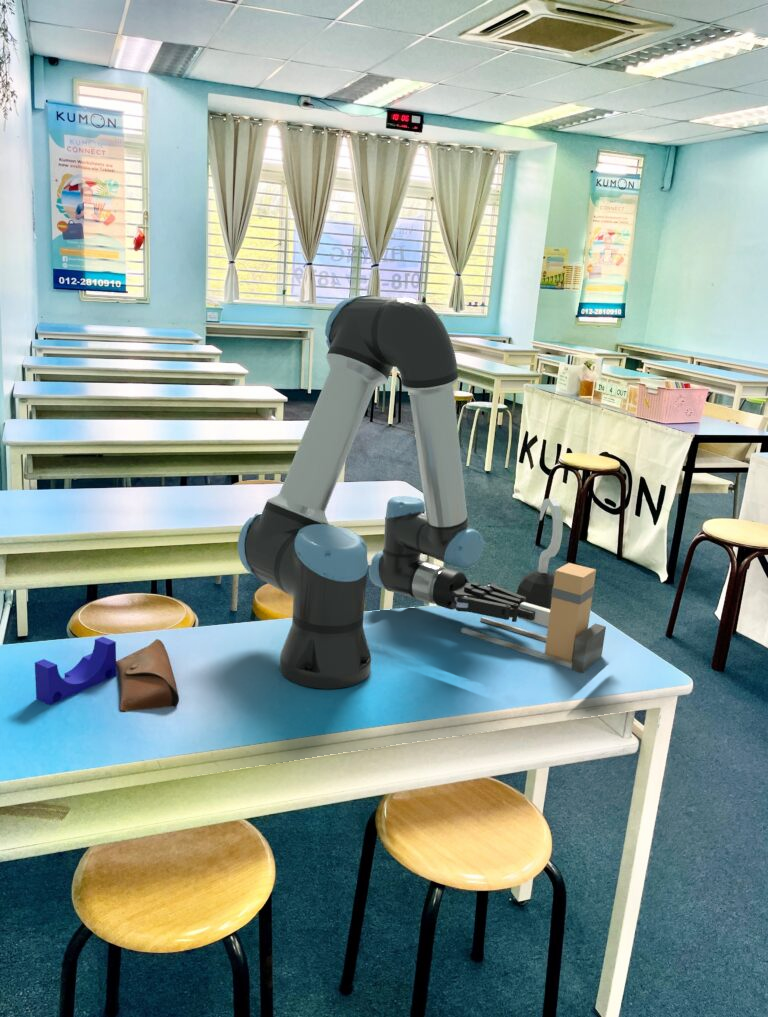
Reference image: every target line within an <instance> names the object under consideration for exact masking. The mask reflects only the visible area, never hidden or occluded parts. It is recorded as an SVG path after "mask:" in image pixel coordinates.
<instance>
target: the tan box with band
mask: <svg viewBox="0 0 768 1017" xmlns="http://www.w3.org/2000/svg"><path fill="white" fill-rule="evenodd" d="M596 574H597V569H596V568H590V567H588V566H584V565H580V564H579V565H578V564H575V563H571V562H568V563H566V564H563V565H562V566H561V567H558V568H557V569H555V572H554V576H555V577H554V585H553V588H552V595H551V597H552V601H551V608H550V616H549V624H548V627H547V631H546V632H547V634H546V637H547V639H546V642H545V649H544V654H547V655H550V656H554V657H557V658H560V659H563V660H566V661H569V662H572V661H573V654H574V646H575V639H576V638H577V637H578V636H579V635H581V634H582V633H583V632H584V631H586V630H587V629H588V628H589V623H590V615H591V609H592V608H591V607H592V602H593V596H594V593H595V581H596V580H595V579H596Z"/></svg>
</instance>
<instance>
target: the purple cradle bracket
mask: <svg viewBox="0 0 768 1017" xmlns="http://www.w3.org/2000/svg"><path fill="white" fill-rule="evenodd" d="M116 643H117V641H115V640H113V639H110V638H107V637H105V636H101V637H98V638H95V639H94V645H93V650H92V653H90V654H87V655H84V656H82V658H81V659H80V661H78V663H77V664H76V665H75V666H74V667H73V668H71V669H70V670H68V671H67V672H65V673H64V677H61V674H60V673H59V669H58V664H57V663H54V662H52V661H49V660H47V659H45V658H43V659H39V660H38V661H35V662H34V674H35V678H34V680H35V696H36V697H35V699H36V700H37V701H39V702H41V703H43V704H46V705H47V706H52V705H54V704H56V703H59V702H61V701H62V700H65V699H67V698H70V697H72V696H75V695H77V694H78V693H81V692H83V691H85V690H87V689H90V688H93V687H94V686H97V685H99V684H101V683H103V682H106V681H108V680H110V679H113V678H114V677H117V667H116V661H117V648H116V647H117V644H116Z"/></svg>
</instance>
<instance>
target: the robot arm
mask: <svg viewBox="0 0 768 1017" xmlns="http://www.w3.org/2000/svg"><path fill="white" fill-rule="evenodd" d="M324 334H325V335H324V336H326V337H327V338H326V339H325V341H326V342H325V343H326V345H327V347H328V352H327V354H326V355H325V356H326V357H325V358H326V361H327V363H328V366H329V371H328V374H327V376H326V379H325V382H324V384H323V386H322V389H321V391H320V393H319V396H318V397H317V400H316V404H315V406H314V408H313V410H312V412H311V413H312V414H311V416H310V418H309V420H308V423H307V425H306V428H305V430H304V433H303V435H302V438H301V440H300V442H299V446H298V447H297V450H296V452H295V454H294V458H293V459H292V462H291V465H290V467H289V469H288V472H287V474H286V476H285V479H284V481H283V484H282V486H281V488H280V491H279V493H278V494H277V495H275V496H273V497H271V498H269V499H267V500H266V502H265V505H264V507H263V510H262V511H261V512H258V513H256V514H254V516H252V517H249V518H248V519H247V520H246V522H245V523H244V524H243V526H242V527H241V529H240V532H239V535H238V538H237V539H238V540H237V553H238V556H239V557H238V558H239V560H240V562H241V565H243V567H244V569H245V570H247V572H249V574H251V575H253V576H254V577H255V578H256V579H257V580H258V581H260V582H263V583H264V584H268V585H270V586H272V587H274V588H275V589H278V590H280V591H281V592H284V593H285V594H287V595H289V596H291V597H292V621H291V622H292V623H291V625H290V628H289V632H288V634H287V636H286V638H285V641H284V643H283V646H282V649H281V652H280V655H279V670H280V672H281V674H282V675H283V677H285V678H286V679H287V680H289V681H291V682H292V683H295V684H297V685H299V686H300V685H301V686H303V687H309V688H313V689H314V688H315V689H325V690H330V689H342V688H347V687H352V686H355V685H357V684H359V683H361V682H363V681H365V680H366V679H367V678H368V677H369V676H370V673H371V671H372V670H371V665H372V655H371V652H370V648H369V644H368V640H367V638H366V637H367V636H366V634H365V629H364V616H365V615H364V613H365V604H366V603H365V601H366V593H367V592H366V591H367V590H366V589H367V581H368V580H367V578H368V575H369V579H370V581H371V583H372V584H374V585H375V586H376V587H379V588H382V589H384V590H386V591H388V592H391V593H397V594H400V595H403V596H407V597H409V598H414V599H416V600H420V601H421V602H422V601H423V602H424V603H425V605H428V604H433V605H436V606H438V607H441V608H443V609H448V610H452V611H453V610H456V611H457V612H464V613H470V614H471V613H472V614H477V615H481V616H487V617H492V618H496V619H501V620H507V621H508V620H510V618H512V619H511V622H512V623H516V622H517V620H518V618H519V619H522V620H525V621H528V622H531V623H534V624H537V625H542V626H544V627H547V628H548V624H549V616H550V609H547V608H543V607H540V606H536V605H533V604H529V603H526V602H525V600H526V598H525V597H524V596H521V595H518V594H516V593H517V592H516V593H515V592H512V591H511V590H508V589H505V588H503V587H500V586H498V585H496V584H495V583H493V582H492V581H487V582H486V585H485V586H484V585H481V583H478V582H469V581H468V578H467V576H466V575H465V573H464V572H462V571H460V570H456V569H452V568H449V567H447V568H446V567H445V566H443V565H440V564H435V563H431V562H427V561H423V560H421V559H420V558H421V554H422V555H425V556H428V557H430V558H433V559H435V560H438V561H440V562H443V563H444V564H446V565H449V566H453V567H456V568H461V569H467V568H470V567H472V566H474V565H475V564H476V563H477V562H478V560H479V559H480V558H481V556H482V553H483V549H484V539H483V536H482V535H481V533H480V532H479V531H478V530H476V529H474V528H473V527H469V519H468V518H469V517H468V510H467V502H466V501H467V500H466V491H465V481H464V474H463V472H464V471H463V465H462V464H463V463H462V456H461V447H460V436H459V429H458V418H457V411H456V410H457V409H456V399H455V392H454V391H455V390H454V384H456V383H457V381H458V380H459V370H458V364H457V358H456V353H455V350H454V346H453V343H452V340H451V338H450V335H449V332H448V331H447V329H446V327H445V324H444V323H443V321H442V319H441V318H440V317H439V315H438V314H437V313H436V311H434V310H433V309H432V308H431V307H430V305H428V304H427V303H425V302H423V301H421V300H420V299H417V298H413V297H407V296H405V297H404V296H401V297H397V296H396V297H394V296H393V297H391V296H377V295H376V296H375V295H372V294H362V295H357V296H351V297H347V298H344V299H343V300H341V301H340V302H338V303H337V304H336V306H335V307H334V308H333V309H332V311H331V312H330V314H329V315H328V318H327V320H326V324H325V329H324ZM393 368H397V370H398V372H399V374H400V379H401V380H400V381H401V386H402V388H404V389H406V390H407V391H408V392H409V393H408V394H409V400H410V407H411V408H410V409H411V415H412V422H413V430H414V436H415V438H414V439H415V442H416V444H415V445H416V450H417V451H416V452H417V458H418V459H417V460H418V465H419V473H420V478H421V479H420V480H421V487H422V488H421V489H422V494H423V500H422V499H421V498H419V497H415V496H409V495H408V496H407V495H405V496H404V495H401V496H400V495H399V496H398V495H397V496H393V497H391V498H390V499H388V501H387V505H386V510H385V511H386V512H385V516H384V520H385V521H384V536H383V549H382V550H380V551H377V552H376V553H375V554H374V555H373V557H372V558H371V564H370V565H369V561H368V546H367V544H366V542H365V540H364V539H363V537H362V536H360V534H359V533H357V532H355V531H353V530H351V529H349V528H346V527H344V526H343V527H342V526H335V525H333V524H330V523H329V521H328V518H327V516H326V511H327V508H328V505H329V503H330V500H331V499H332V498H331V497H332V495H333V493H334V490H335V489H336V485H337V483H338V481H339V479H340V475H341V473H342V471H343V468H344V466H345V463H346V461H347V459H348V456H349V454H350V451H351V448H352V446H353V444H354V441H355V438H356V436H357V433H358V432H359V429H360V426H361V423H362V421H363V418H364V416H365V414H366V411H367V409H368V406H369V404H370V402H371V399H372V397H373V394H374V391H375V389H376V388H378V387H380V386H382V385H384V384H387V382H388V380H389V378H390V375H391V372H392V371H393V370H392V369H393ZM368 567H369V568H368Z"/></svg>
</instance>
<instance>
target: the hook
mask: <svg viewBox="0 0 768 1017" xmlns="http://www.w3.org/2000/svg"><path fill="white" fill-rule="evenodd" d="M548 508H549V509H550V511H551V518H552V534H551V539H550V544H549V545H548V547H547V548H546V549H544V550H543V551H541V552H540V555H539V558H538V568H537V570H536V571H532V572H528V573H526V574H525V575H524V576H523V577H522V578H521V579H520V581H519V584H518V587H517V590H516V594H518V595H521V596H524V597H525V598H526V600H525V602H526V603H529V604H533V605H536V606H540V607H543V608H547V609H550V608H551V601H552V597H551V595H552V588H553V585H554V577H555V574H553V573H551V572H548V570H549V569H548V568H549V563H550V562H549V561H550V559H551V558H554V557H556V555H557V554H558V552H559V550H560V547H561V543H562V539H563V528H564V527H563V526H564V523H563V522H564V519H563V513H562V507H561V505H560V503H559V502H558V500H557V499H556V498H545V499H543V502H542V504H541V506H540V509H539V510H540V511H539V512H540V513H539V521H542V520H543V518H544V516H545V515H544V514H545V513H546V511H547V509H548Z"/></svg>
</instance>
